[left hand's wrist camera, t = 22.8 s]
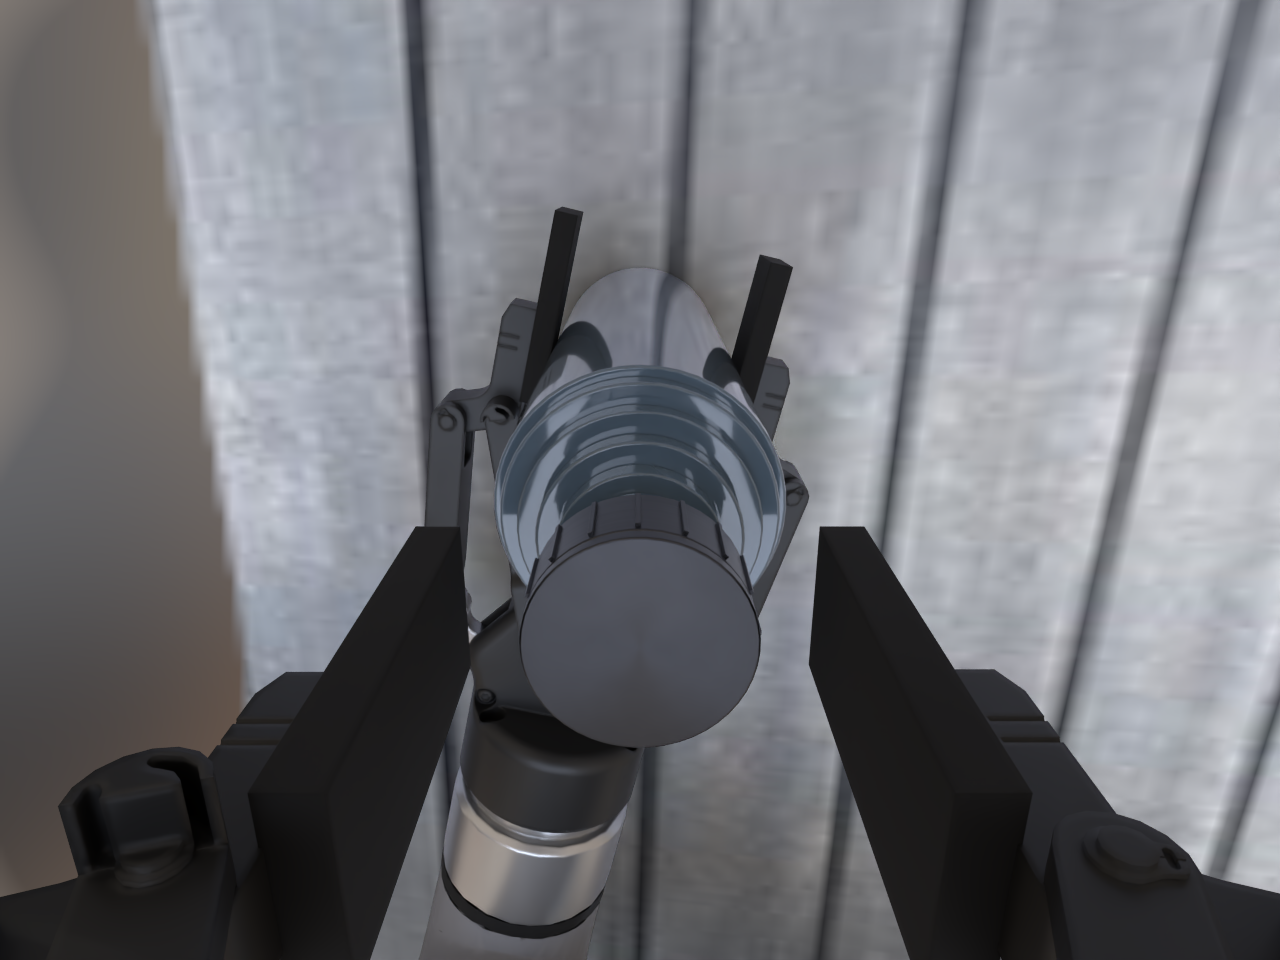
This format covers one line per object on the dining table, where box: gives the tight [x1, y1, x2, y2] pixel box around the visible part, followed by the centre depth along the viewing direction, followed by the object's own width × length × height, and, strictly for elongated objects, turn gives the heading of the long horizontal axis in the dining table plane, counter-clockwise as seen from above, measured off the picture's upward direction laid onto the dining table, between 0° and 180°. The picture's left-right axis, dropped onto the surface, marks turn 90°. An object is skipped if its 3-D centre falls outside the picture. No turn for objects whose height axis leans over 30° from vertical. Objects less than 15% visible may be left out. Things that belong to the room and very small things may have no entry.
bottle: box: [494, 268, 786, 587], centre depth 25 cm, size 6×6×24 cm
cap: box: [519, 493, 761, 748], centre depth 14 cm, size 4×4×2 cm
